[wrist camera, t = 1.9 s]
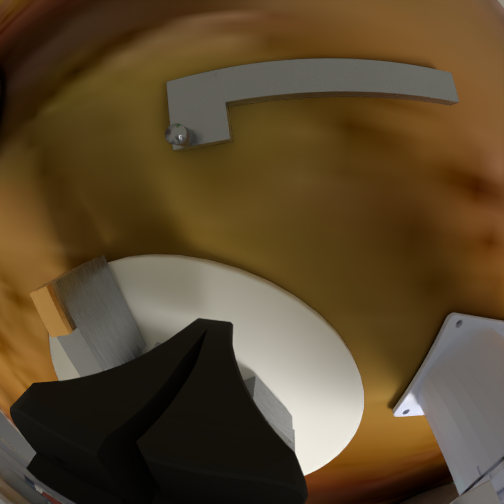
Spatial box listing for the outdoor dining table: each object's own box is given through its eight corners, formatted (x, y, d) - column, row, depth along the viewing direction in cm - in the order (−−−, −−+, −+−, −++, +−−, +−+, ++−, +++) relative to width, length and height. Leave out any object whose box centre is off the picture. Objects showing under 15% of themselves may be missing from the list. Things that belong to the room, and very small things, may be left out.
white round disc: (421, 304, 12) (457, 342, 8) (297, 491, 18) (297, 521, 14) (42, 218, 12) (-4, 231, 9) (84, 434, 19) (69, 458, 15)
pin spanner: (441, 78, 9) (463, 66, 7) (454, 135, 10) (479, 131, 8) (174, 88, 10) (155, 73, 8) (181, 151, 11) (161, 147, 9)
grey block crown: (349, 312, 11) (376, 368, 7) (262, 481, 16) (258, 519, 12) (80, 247, 11) (24, 273, 8) (110, 438, 16) (92, 470, 12)
